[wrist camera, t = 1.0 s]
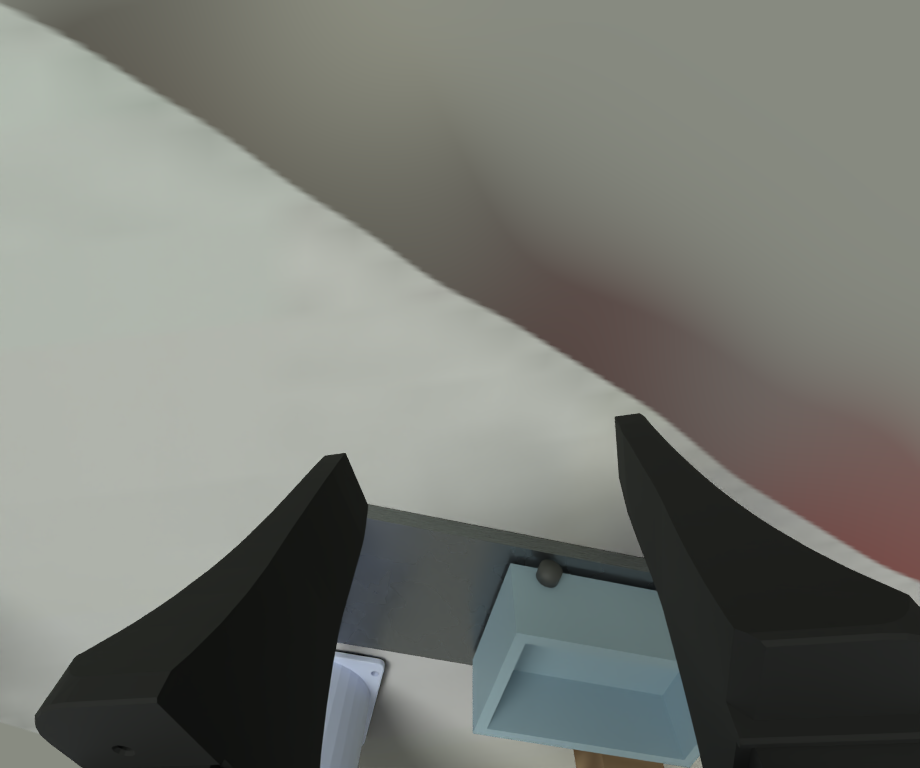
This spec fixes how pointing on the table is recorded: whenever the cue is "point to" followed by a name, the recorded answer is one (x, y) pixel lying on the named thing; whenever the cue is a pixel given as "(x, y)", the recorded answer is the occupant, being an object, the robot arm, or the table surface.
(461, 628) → the rail
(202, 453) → the table surface
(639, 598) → the cart
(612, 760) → the walnut block
